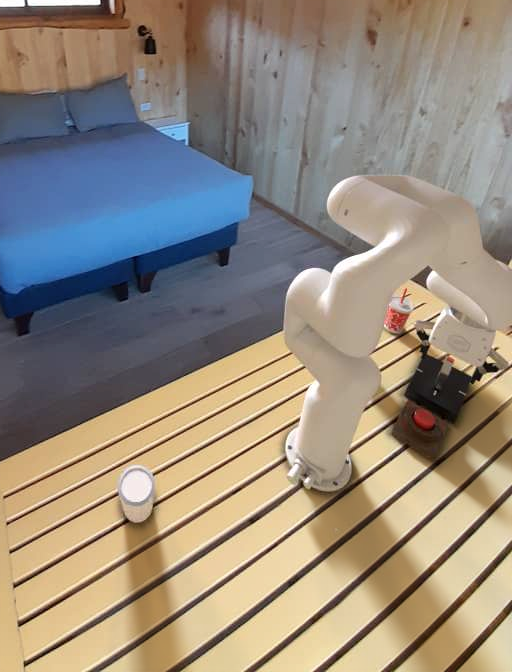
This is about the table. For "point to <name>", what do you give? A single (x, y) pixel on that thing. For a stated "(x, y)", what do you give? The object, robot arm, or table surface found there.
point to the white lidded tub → (136, 492)
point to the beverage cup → (398, 313)
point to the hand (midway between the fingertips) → (447, 367)
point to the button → (424, 419)
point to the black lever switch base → (433, 399)
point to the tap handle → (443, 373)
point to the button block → (419, 431)
